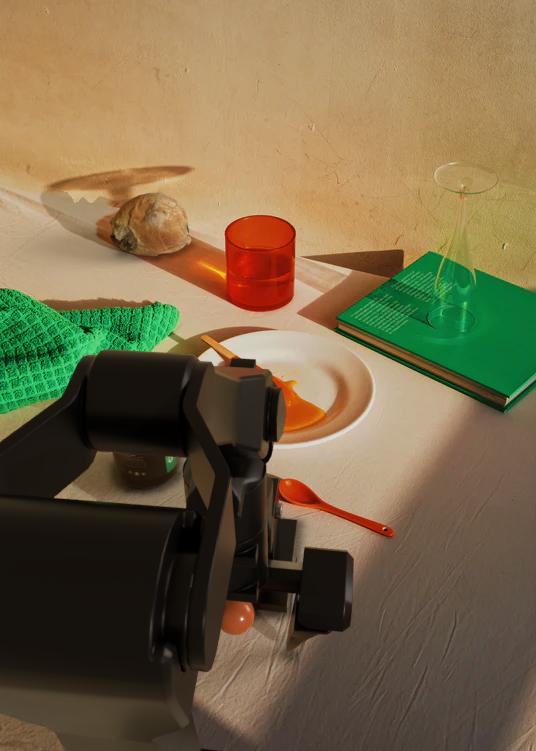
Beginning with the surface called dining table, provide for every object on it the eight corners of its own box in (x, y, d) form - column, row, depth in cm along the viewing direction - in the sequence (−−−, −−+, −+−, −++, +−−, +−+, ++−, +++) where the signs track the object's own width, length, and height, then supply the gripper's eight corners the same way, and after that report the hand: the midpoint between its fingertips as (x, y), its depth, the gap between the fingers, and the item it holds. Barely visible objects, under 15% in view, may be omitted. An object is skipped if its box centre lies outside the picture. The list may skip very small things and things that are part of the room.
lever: (253, 639, 61) (250, 633, 58) (215, 635, 61) (210, 629, 58) (268, 500, 66) (266, 488, 64) (233, 497, 67) (229, 485, 64)
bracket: (286, 613, 65) (287, 543, 59) (197, 604, 65) (189, 534, 60) (297, 526, 73) (298, 457, 67) (217, 519, 73) (212, 450, 68)
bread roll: (181, 281, 119) (208, 229, 115) (106, 255, 113) (130, 199, 109) (172, 246, 129) (196, 197, 124) (101, 221, 123) (124, 168, 118)
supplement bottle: (191, 474, 78) (182, 386, 71) (132, 500, 76) (116, 410, 68) (163, 438, 83) (152, 351, 76) (106, 461, 80) (89, 373, 73)
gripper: (360, 447, 58) (349, 573, 68) (130, 430, 60) (150, 554, 69) (357, 560, 49) (344, 686, 59) (87, 536, 51) (117, 662, 61)
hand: (235, 640), depth 62 cm, fingers open, 9 cm apart
